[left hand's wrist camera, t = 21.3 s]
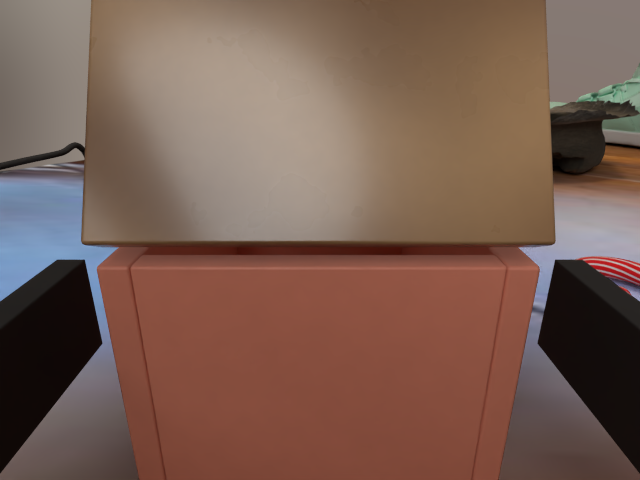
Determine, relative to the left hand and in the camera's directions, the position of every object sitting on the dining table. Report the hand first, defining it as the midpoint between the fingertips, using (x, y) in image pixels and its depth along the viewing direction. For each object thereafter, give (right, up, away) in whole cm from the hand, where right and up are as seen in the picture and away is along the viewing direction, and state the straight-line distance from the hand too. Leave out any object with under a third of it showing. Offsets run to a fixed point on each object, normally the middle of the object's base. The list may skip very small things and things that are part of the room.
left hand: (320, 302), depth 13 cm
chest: (0, -5, +6) cm, 8 cm away
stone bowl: (+30, +13, +53) cm, 62 cm away
